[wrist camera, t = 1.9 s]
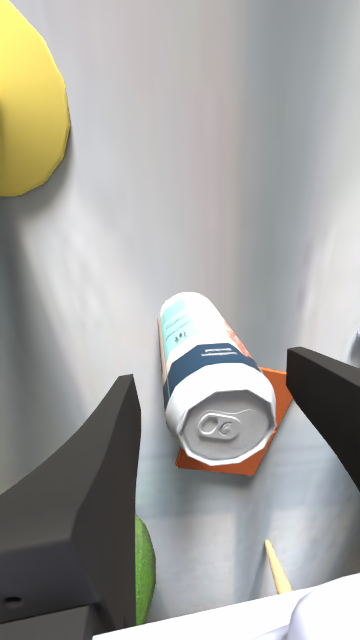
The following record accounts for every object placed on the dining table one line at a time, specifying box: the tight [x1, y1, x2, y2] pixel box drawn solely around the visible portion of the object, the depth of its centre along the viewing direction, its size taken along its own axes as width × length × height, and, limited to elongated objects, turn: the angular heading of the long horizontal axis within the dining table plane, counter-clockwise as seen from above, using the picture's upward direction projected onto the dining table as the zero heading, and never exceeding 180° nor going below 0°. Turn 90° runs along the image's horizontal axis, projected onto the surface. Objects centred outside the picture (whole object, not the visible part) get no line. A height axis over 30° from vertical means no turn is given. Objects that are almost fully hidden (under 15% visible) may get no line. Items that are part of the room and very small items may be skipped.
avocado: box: [135, 514, 156, 626], centre depth 24 cm, size 8×8×12 cm
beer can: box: [158, 292, 277, 466], centre depth 16 cm, size 5×5×12 cm
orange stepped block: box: [175, 367, 293, 476], centre depth 25 cm, size 9×13×1 cm
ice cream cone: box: [265, 540, 293, 595], centre depth 27 cm, size 6×6×15 cm
